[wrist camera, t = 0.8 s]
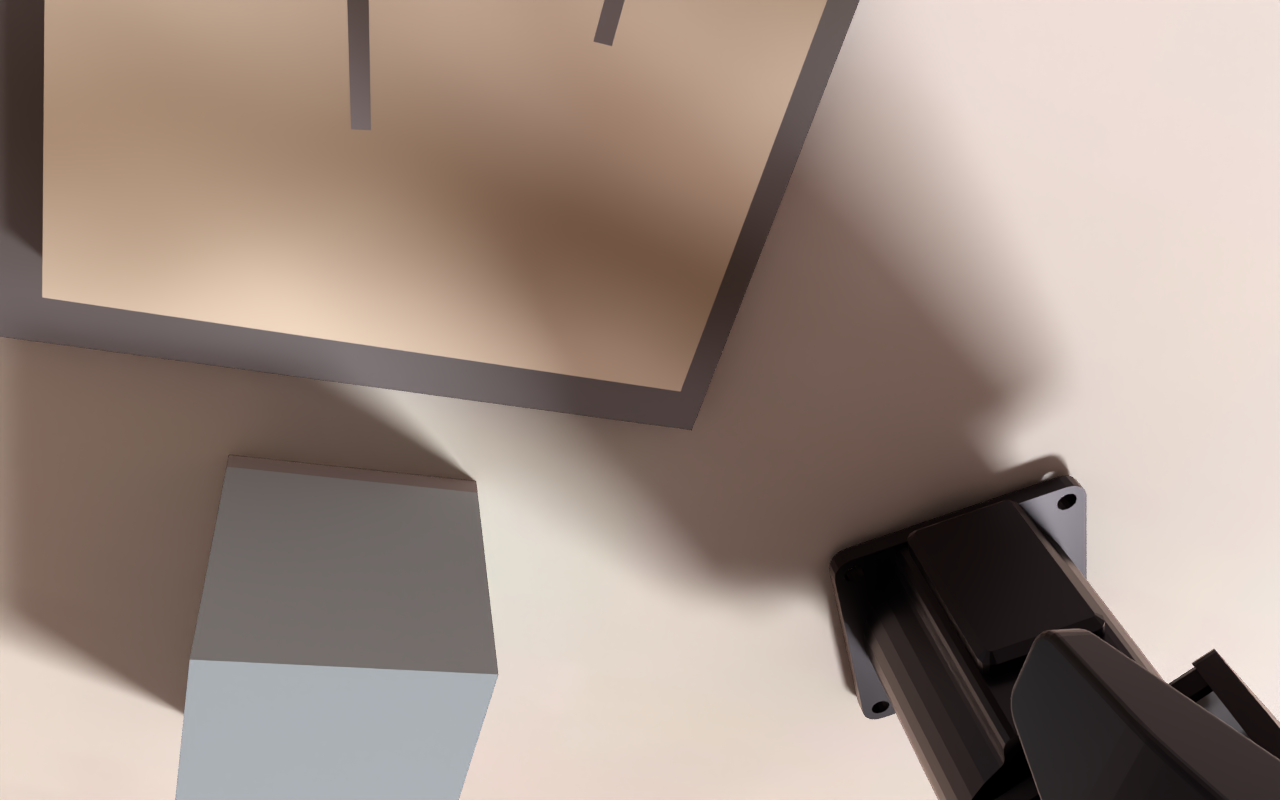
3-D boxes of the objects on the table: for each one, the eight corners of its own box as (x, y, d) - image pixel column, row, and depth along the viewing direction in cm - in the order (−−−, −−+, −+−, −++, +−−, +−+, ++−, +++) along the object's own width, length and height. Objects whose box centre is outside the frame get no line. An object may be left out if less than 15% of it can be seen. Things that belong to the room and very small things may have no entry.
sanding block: (410, 723, 27) (416, 933, 22) (199, 716, 25) (160, 941, 21) (475, 477, 23) (498, 674, 18) (229, 451, 21) (189, 659, 17)
